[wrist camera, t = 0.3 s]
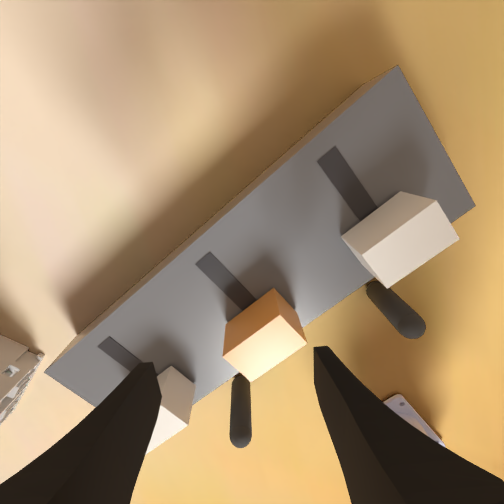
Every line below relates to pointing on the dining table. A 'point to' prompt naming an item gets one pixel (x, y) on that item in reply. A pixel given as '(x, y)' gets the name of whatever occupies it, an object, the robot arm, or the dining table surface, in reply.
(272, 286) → the breaker panel
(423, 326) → the cord posts
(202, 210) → the dining table surface
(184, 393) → the paddle
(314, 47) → the dining table surface
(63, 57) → the dining table surface
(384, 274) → the paddle
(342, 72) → the dining table surface
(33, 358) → the circuit breaker
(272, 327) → the orange block
